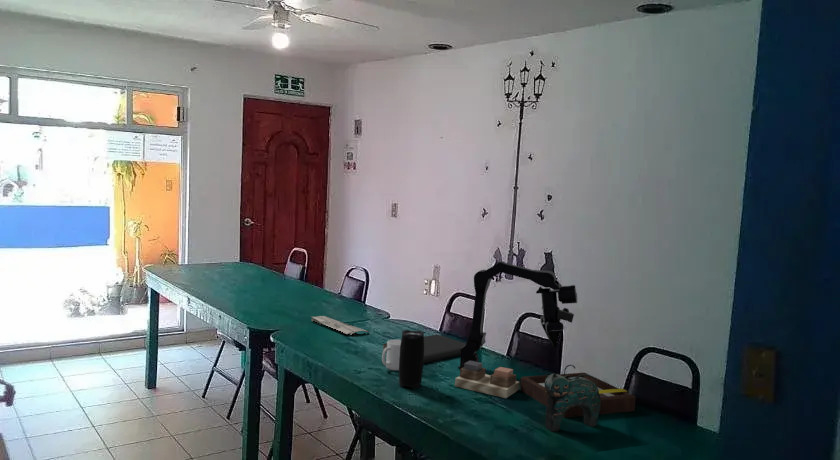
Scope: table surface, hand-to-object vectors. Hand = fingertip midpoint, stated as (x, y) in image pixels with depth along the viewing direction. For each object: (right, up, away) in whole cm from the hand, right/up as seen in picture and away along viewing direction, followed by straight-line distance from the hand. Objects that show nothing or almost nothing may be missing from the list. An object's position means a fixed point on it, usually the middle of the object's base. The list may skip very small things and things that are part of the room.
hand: (553, 344), depth 247 cm
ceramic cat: (-4, -18, -46) cm, 49 cm away
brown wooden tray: (+3, -16, -20) cm, 26 cm away
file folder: (-47, -10, +32) cm, 58 cm away
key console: (-27, -13, -13) cm, 32 cm away
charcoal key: (-32, -8, -10) cm, 34 cm away
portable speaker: (-55, -12, -15) cm, 58 cm away
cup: (-61, -10, +5) cm, 62 cm away
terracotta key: (-21, -9, -16) cm, 28 cm away
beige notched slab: (-91, -4, +67) cm, 113 cm away
